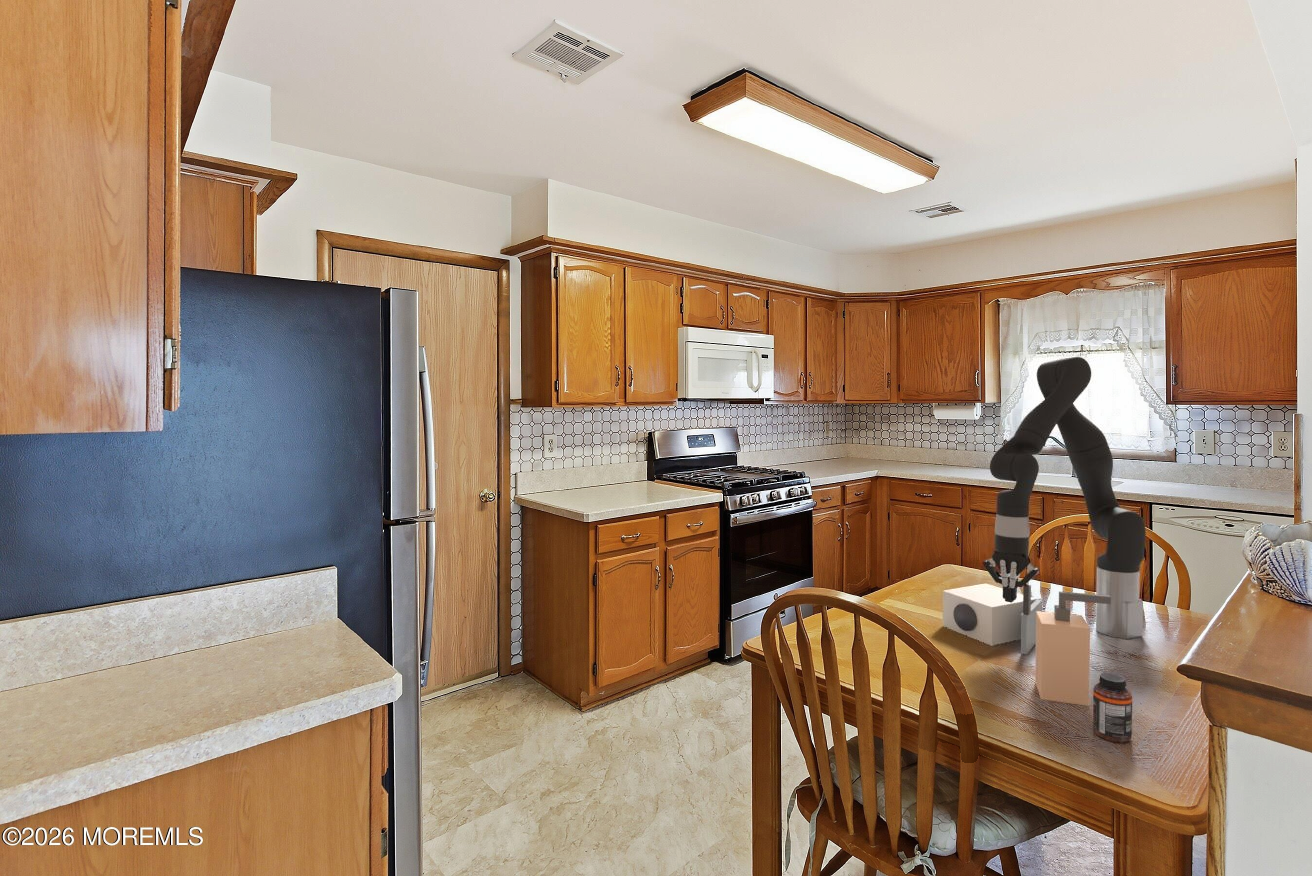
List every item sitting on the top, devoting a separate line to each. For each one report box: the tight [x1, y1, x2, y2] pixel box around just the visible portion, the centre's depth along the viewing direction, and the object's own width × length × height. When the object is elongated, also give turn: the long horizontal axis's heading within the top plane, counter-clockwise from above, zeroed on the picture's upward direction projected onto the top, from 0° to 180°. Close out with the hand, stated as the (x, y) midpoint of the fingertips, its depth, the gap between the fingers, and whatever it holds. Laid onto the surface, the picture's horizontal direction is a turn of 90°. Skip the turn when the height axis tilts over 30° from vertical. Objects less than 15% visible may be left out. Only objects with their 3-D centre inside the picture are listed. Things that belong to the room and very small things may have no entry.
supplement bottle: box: [1092, 672, 1133, 744], centre depth 121 cm, size 6×6×11 cm
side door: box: [1020, 583, 1043, 655], centre depth 164 cm, size 2×16×17 cm, turn 137°
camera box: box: [942, 582, 1038, 647], centre depth 175 cm, size 16×17×10 cm
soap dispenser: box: [1034, 591, 1111, 707], centre depth 137 cm, size 13×9×22 cm
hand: (1009, 601), depth 162 cm, fingers closed
